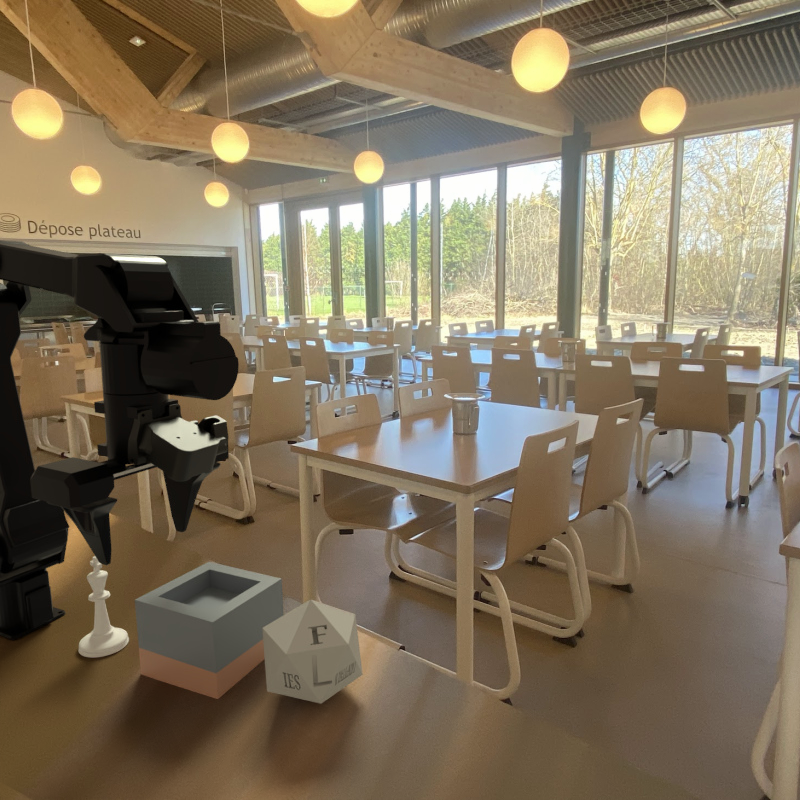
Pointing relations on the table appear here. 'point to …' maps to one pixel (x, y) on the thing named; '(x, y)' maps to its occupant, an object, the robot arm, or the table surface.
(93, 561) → the chess piece
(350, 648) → the die
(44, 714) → the table surface
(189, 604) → the grey planter box
